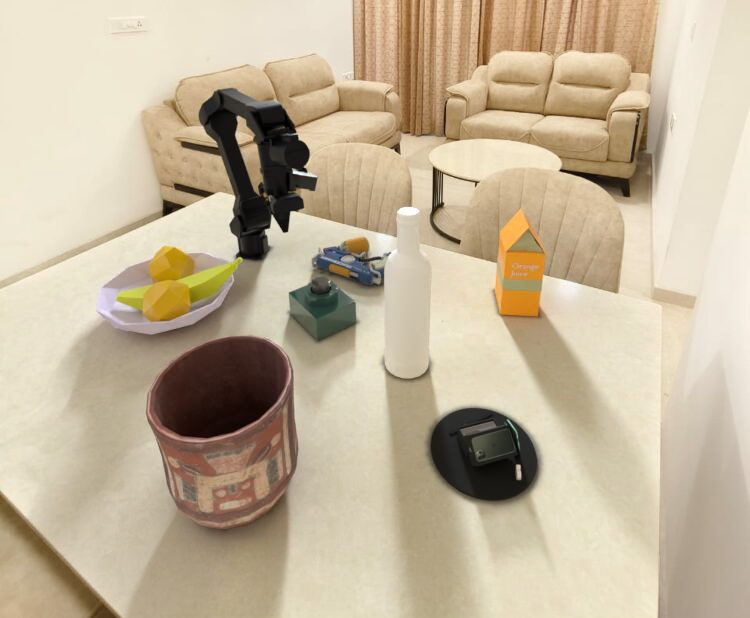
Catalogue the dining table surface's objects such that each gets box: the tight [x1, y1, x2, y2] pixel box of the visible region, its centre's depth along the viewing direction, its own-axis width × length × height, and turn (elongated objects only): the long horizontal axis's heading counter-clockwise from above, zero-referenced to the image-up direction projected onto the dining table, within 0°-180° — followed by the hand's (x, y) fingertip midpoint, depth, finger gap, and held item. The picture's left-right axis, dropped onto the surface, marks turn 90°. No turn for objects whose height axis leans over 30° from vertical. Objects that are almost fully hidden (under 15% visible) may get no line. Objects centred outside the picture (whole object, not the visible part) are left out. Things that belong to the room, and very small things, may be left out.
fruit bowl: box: [95, 245, 244, 336], centre depth 103 cm, size 28×27×11 cm
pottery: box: [145, 334, 299, 530], centre depth 65 cm, size 18×18×18 cm
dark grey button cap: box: [310, 275, 331, 295], centre depth 99 cm, size 4×4×2 cm
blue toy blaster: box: [311, 236, 393, 286], centre depth 119 cm, size 21×4×15 cm
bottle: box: [383, 206, 433, 379], centre depth 84 cm, size 8×8×30 cm
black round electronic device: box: [430, 407, 538, 502], centre depth 71 cm, size 15×15×6 cm
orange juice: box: [494, 208, 547, 317], centre depth 102 cm, size 8×9×20 cm
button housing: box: [288, 280, 357, 342], centre depth 100 cm, size 11×9×7 cm
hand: (285, 232), depth 109 cm, fingers closed
